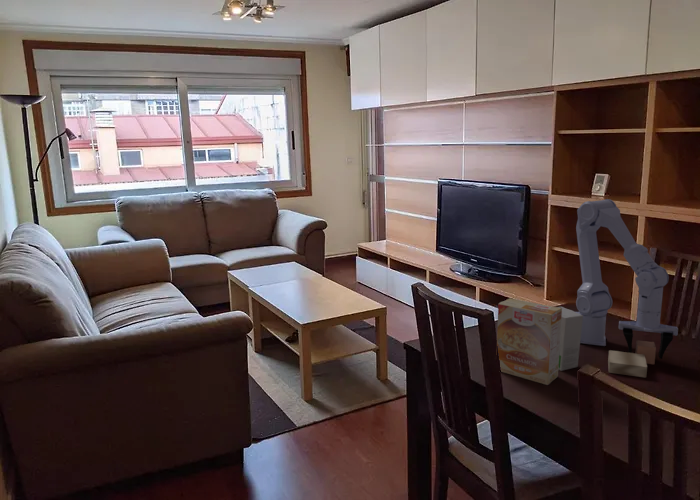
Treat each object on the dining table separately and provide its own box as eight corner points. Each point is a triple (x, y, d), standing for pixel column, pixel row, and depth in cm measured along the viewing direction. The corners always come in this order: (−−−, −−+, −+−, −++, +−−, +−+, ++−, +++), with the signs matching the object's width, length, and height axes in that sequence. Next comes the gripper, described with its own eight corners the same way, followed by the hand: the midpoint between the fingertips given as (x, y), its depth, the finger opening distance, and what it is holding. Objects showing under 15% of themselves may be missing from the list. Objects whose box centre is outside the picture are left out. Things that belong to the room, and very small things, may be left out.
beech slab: (608, 372, 148) (609, 362, 147) (608, 360, 156) (608, 350, 155) (646, 377, 144) (647, 367, 144) (643, 364, 152) (644, 354, 152)
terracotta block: (636, 362, 154) (637, 345, 153) (635, 356, 158) (636, 340, 157) (654, 364, 152) (655, 347, 151) (652, 358, 156) (654, 342, 155)
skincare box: (540, 360, 157) (542, 308, 154) (558, 356, 159) (560, 305, 156) (562, 371, 149) (565, 317, 146) (580, 367, 152) (583, 313, 149)
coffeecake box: (495, 370, 151) (497, 303, 147) (507, 362, 156) (509, 297, 152) (547, 386, 141) (551, 314, 137) (558, 376, 146) (562, 307, 142)
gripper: (620, 311, 152) (617, 357, 154) (681, 317, 146) (676, 364, 149) (620, 304, 158) (616, 348, 161) (677, 309, 152) (673, 355, 155)
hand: (645, 355), depth 155 cm, fingers open, 7 cm apart
